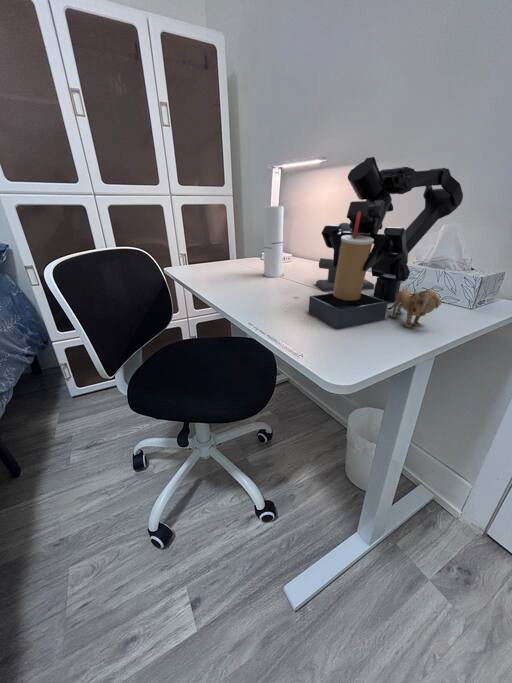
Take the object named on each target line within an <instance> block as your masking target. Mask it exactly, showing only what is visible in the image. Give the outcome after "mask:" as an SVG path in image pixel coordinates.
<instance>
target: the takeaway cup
mask: <svg viewBox="0 0 512 683" xmlns="http://www.w3.org/2000/svg"><path fill="white" fill-rule="evenodd" d="M360 217H361V212H360V211H359V212H357V217H356V222H355V228H354V233H353V235H344V236H342V237H341V248H340V254H339V260H338V266H337V272H336V278H335V284H334V290H333V291H332V293H333V295H334V296H335V297H336V298H339V299H342V300H358V299H359V298H360V297H361V292H362V293H363V289H362V287H363V283H364V279H366V274H367V271H364V270H363V268H364V265H365V262H366V260H367V259H368V256H369V254H370V252H371V250H372V248H373V247H372V246H373V244H372V243H373V242H374V239H373V238H371V237H368V236H362V235H357V232H358V227H359V222H360Z"/></svg>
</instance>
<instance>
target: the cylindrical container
mask: <svg viewBox="0 0 512 683" xmlns="http://www.w3.org/2000/svg"><path fill="white" fill-rule="evenodd" d="M284 208H285V207H284V206H282V205H272V206H269V205H267V206H266V205H265V206H263V246H264V247H263V273H264V274H263V276H264V277H268V278H279V277H282V276H283V256H284V255H283V251H284V250H283V249H284V243H283V242H284V212H285V211H284Z"/></svg>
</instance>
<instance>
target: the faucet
mask: <svg viewBox="0 0 512 683" xmlns="http://www.w3.org/2000/svg"><path fill="white" fill-rule="evenodd" d="M349 224H350V222H340V223H339V224H338V225H337V226H341V228H342V230H343V231H347V232H352V229H351V228H350V226H349ZM337 266H338V265H337ZM337 266H336V268H334V266H333V258H332V259H331V258H322V257H321V258H320V259H319V262H318V268H319V269H321V270H322V269H324V270H328V271H327V272H328V273H327V279H318V280H316V282H315V285H316V287H318V288H319V289H321V290H322V291H323V292H331V291H332V292H333V290H334V284H335V278H336V272H337ZM369 269H371V267H370V268H369ZM368 289H370V290H371V289H375V283H372V282H371V281H370V280H367V279H366V278H364V283H363V287H362V290H368Z"/></svg>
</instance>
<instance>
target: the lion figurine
mask: <svg viewBox="0 0 512 683" xmlns="http://www.w3.org/2000/svg"><path fill="white" fill-rule="evenodd" d="M442 303H443V300H441V299H440V298H439V297H438V295H437V291H436V290H434V289H427V290H422V291H419V292H415V293H413V294H411V293H410V291H409V290H407V289H402V290H399V292H398V293H397V295H396V298H395V301H394V304H393V305H392V306H389V307H387V309H386V310H388V311H391V310H392V314H391V316H390V318H393V319H395V318H397V315H396V313H397V314H401V315H402V314H403V311H402V309H403V310H404V311H406V321H405V325H404V326H405V328H412V319H413V316H414V319H413V325H414V326H416V327H420V326H421V323H420V322H419V319H420V318H421V317H425V316H426V314H430V313H431V312H433V311H434V310H438V308H439V307H440V306H441V305H442Z"/></svg>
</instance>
